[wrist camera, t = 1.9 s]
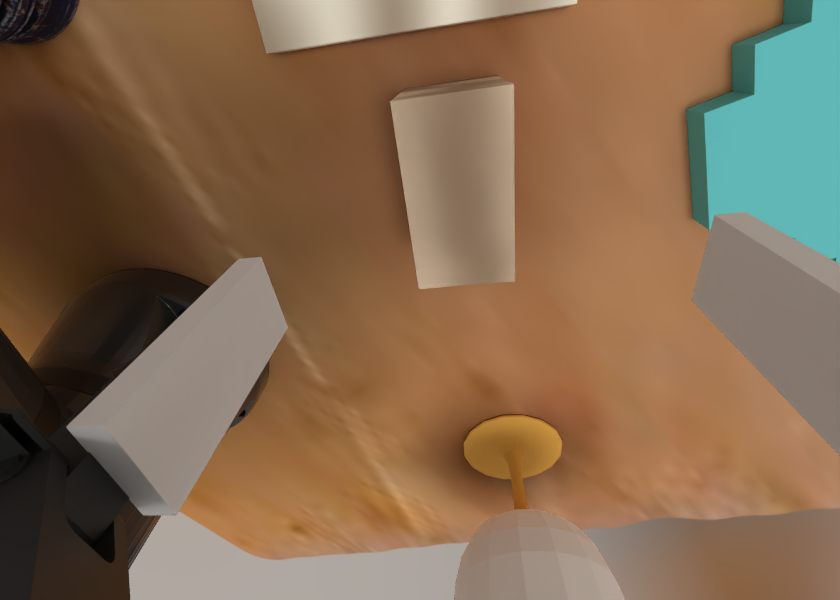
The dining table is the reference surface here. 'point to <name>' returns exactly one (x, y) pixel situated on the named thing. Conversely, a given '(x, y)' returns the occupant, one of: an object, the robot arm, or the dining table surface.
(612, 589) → the cup
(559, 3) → the board
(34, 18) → the storage jar
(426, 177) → the block
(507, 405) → the dining table surface
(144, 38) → the dining table surface
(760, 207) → the alien figure
